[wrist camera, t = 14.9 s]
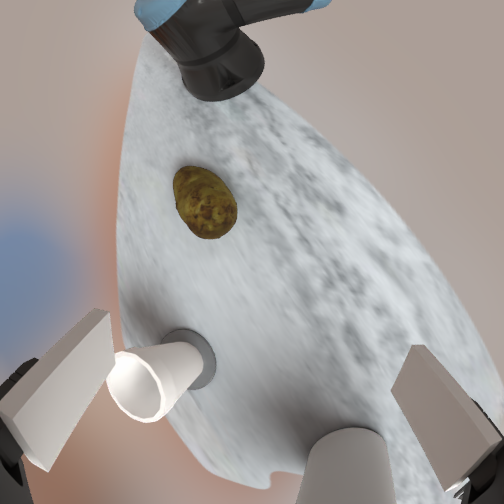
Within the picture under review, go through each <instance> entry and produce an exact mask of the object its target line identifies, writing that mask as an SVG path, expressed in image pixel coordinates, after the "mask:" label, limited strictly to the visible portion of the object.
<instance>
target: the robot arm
mask: <svg viewBox="0 0 504 504" xmlns="http://www.w3.org/2000/svg"><path fill="white" fill-rule="evenodd" d="M331 1H332V0H137V1H136V3H135V6H134V13H135V16H136V17H137V18H138V20H140V22H141V23H142V24H143V26H144V28H145V30H146V31H148V32H149V33H150V34H151V35H152V36H153V37H154V38H155V39H156V40H157V41H158V42H159V43H160V44H161V45H162V46H163V48H164V49H165V50H166V51H167V52H168V53H169V54H170V55H171V56H172V57H173V59H174V60H175V61H176V62H177V63H178V66H179V69H180V71H181V74H182V80H183V83H184V85H185V87H186V89H187V90H188V91H189V92H190V93H191V94H192V95H193V96H194V97H196V98H197V99H200V100H203V101H209V102H215V101H222V100H226V99H230V98H232V97H235V96H237V95H239V94H241V93H243V92H244V91H246V90H247V89H249V88H250V87H251V86H252V85H253V84H254V83H255V82H256V81H257V80H258V79H259V77H260V76H261V74H262V72H263V69H264V64H265V63H264V57H263V54H262V52H261V50H260V48H259V46H258V45H257V44H256V43H255V42H254V41H253V40H251V39H250V38H249V37H248V36H247V35H246V34H245V33H243V32H242V31H241V30H240V29H239V27H241V26H245V25H248V24H252V23H256V22H260V21H264V20H267V19H272V18H276V17H281V16H286V15H290V14H295V13H304V12H307V11H310V10H315V9H320V8H323V7H326V6H327V5H328V4H329V3H330V2H331ZM115 364H116V362H115V355H114V348H113V341H112V332H111V322H110V312H108V311H104V310H100V309H96V308H94V309H93V310H92V311H91V312H89V313H88V314H87V315H86V316H85V317H84V318H83V319H82V320H81V321H80V322H78V323H77V324H76V325H75V326H74V327H73V328H72V329H71V330H70V331H69V332H68V333H67V334H66V335H65V336H64V337H62V338H61V339H60V340H59V341H58V342H57V343H56V344H55V345H54V346H53V347H52V348H51V349H50V350H49V351H48V352H47V353H46V354H45V355H44V356H43V357H42V358H41V359H40V360H39V359H36V358H33V359H31V360H29V361H26V362H25V363H23V364H22V365H21V366H20V367H19V368H18V369H17V370H16V371H15V373H13V374H12V375H11V376H10V377H9V379H7V380H6V381H5V382H4V383H3V384H2V385H1V386H0V504H34V503H33V500H32V497H31V493H30V490H29V486H28V482H27V478H26V474H25V470H24V464H23V462H22V459H21V456H22V454H23V453H24V454H25V455H26V456H27V458H28V459H29V460H30V462H32V463H33V464H35V465H36V466H38V467H40V468H41V469H43V470H45V471H47V472H49V470H50V469H51V467H52V465H53V463H54V462H55V460H56V458H57V456H58V455H59V453H60V451H61V449H62V448H63V446H64V444H65V443H66V441H67V439H68V438H69V436H70V434H71V433H72V431H73V429H74V428H75V426H76V424H77V423H78V421H79V420H80V418H81V417H82V415H83V413H84V412H85V410H86V409H87V407H88V406H89V404H90V402H91V401H92V399H93V397H94V396H95V395H96V393H97V392H98V390H99V388H100V387H101V385H102V384H103V382H104V381H105V379H106V378H107V376H108V375H109V373H110V372H111V370H112V369H113V367H114V366H115ZM391 392H392V394H393V396H394V398H395V399H396V401H397V403H398V405H399V406H400V408H401V410H402V412H403V413H404V415H405V417H406V419H407V421H408V422H409V424H410V426H411V428H412V430H413V432H414V433H415V435H416V437H417V439H418V441H419V443H420V444H421V446H422V448H423V450H424V452H425V454H426V456H427V458H428V460H429V462H430V464H431V466H432V468H433V470H434V471H435V473H436V475H437V477H438V479H439V482H440V484H441V486H442V488H443V490H444V492H446V491H448V490H450V489H453V488H455V487H457V486H459V485H460V484H461V483H462V482H463V481H464V480H465V479H466V478H467V477H468V478H469V479H470V481H469V482H468V483H467V484H465V485H464V486H463V487H462V488H461V489H460V490H459V491H458V492H457V493H455V495H454V497H453V498H456V497H457V496H458V495H460V494H461V493H462V492H463V491H464V493H463V494H462V495H461V496H460V497H459V498H458V499H461V500H462V502H461V504H504V436H503V435H502V434H501V432H500V431H499V430H498V428H497V427H496V426H495V424H494V423H493V422H492V421H491V419H490V418H488V415H487V414H486V413H485V412H483V409H482V408H481V407H480V406H479V404H478V403H477V402H476V401H474V400H473V399H471V398H470V397H469V396H468V395H467V393H466V392H465V391H464V390H463V389H462V387H461V386H460V385H459V384H458V383H457V381H456V380H455V379H454V378H453V377H452V376H451V374H450V373H449V372H448V371H447V370H446V369H445V368H444V366H443V365H442V364H441V363H440V362H439V361H438V360H437V359H436V357H435V356H434V355H433V354H432V353H431V352H430V351H429V350H428V349H427V347H426V346H425V345H412V346H411V348H410V351H409V353H408V355H407V357H406V360H405V362H404V364H403V366H402V368H401V371H400V373H399V375H398V377H397V379H396V381H395V383H394V385H393V387H392V389H391Z"/></svg>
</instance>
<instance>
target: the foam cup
mask: <svg viewBox="0 0 504 504" xmlns="http://www.w3.org/2000/svg"><path fill="white" fill-rule="evenodd" d="M114 355H115V362H116V364H115V366H114V367H113V369H112V370H111V372H110V373H109V375H108V376H107V378H106V382H107V385H108V388H109V391H110V394H111V396H112V397H113V399H114V400H115V402H116V403H117V405H118V406H119V408H120V409H121V410H123V411H124V412H125V413H126V414H127V415H129V416H130V417H131V418H133V419H135V420H138V421H141V422H144V423H148V422H154V421H157V420H159V419H160V418H161V417H163V416H164V415H166V414H167V413H168V412H169V411H170V409H171V408H172V407H173V406H174V405H175V402H176V401H177V400H178V398H179V397H180V396H181V395H182V394H183V393H184V392H185V391H186V390H187V388H188V387H189V386H190V385H191V384H192V383H193V382H194V380H195V379H196V378H197V377H198V376H199V375H200V373H201V372H202V369H203V360H202V356H201V354H200V353H199V351H198V350H197V348H196V347H194V346H193V345H191V344H190V343H188V342H174V343H168V344H161V345H155V346H148V347H141V348H137V347H132V348H129V349H126V350H124V351H121V352H118V353H116V354H114Z"/></svg>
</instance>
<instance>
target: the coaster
mask: <svg viewBox="0 0 504 504" xmlns="http://www.w3.org/2000/svg"><path fill="white" fill-rule="evenodd" d="M174 342H188V343H190V344H191V345H193V346H194V347H196V348H197V350H198V351H199V353H200V354H201V356H202V360H203V369H202V372H201V373H200V375H199V376H198V377H197V378H196V379H195V380H194V382H193V383H192V384H191V385H190V386H189V387H188V388H187V389H188V390H196V389H200V388H202V387H204V386H206V385H207V384H208V383H209V382H210V381H211V380H212V379H213V377H214V375H215V371H216V358H215V355H214V352H213V350H212V348H211V346H210V345H209V343H208V342H207V341H206V340H205V339H204V338H203V337H202V336H201V335H199V334H198V333H196V332H194V331H191V330H186V329H180V330H176V331H173V332H170V333H169V334H167V335H166V336H165V337H164V338H163V340H162V342H161V344H168V343H174ZM161 344H160V345H161Z"/></svg>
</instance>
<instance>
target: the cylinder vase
mask: <svg viewBox="0 0 504 504" xmlns="http://www.w3.org/2000/svg"><path fill="white" fill-rule="evenodd" d="M296 504H396V496H395V490H394V483H393V477H392V471H391V466H390V460H389V455H388V450H387V446H386V443H385V441H384V440H383V438H382V437H381V436H380V435H378V434H377V433H375V432H373V431H371V430H368V429H364V428H345V429H340V430H337V431H334V432H331V433H329V434H327V435H325V436H324V437H322V438H321V439H320V440H319V441H317V442H316V443H315V445H314V446H313V447H312V449H311V451H310V453H309V456H308V460H307V464H306V468H305V472H304V476H303V480H302V483H301V487H300V491H299V494H298V498H297V501H296Z"/></svg>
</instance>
